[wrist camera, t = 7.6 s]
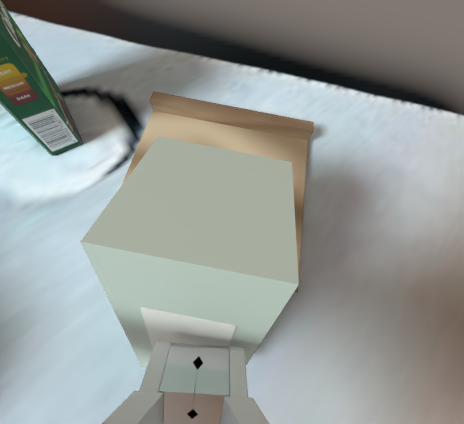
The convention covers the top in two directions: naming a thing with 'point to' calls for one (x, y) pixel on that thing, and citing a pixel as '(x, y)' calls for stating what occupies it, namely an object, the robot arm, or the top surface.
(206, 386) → the robot arm
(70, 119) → the coffee box
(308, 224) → the top surface
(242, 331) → the pale green box
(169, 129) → the board
